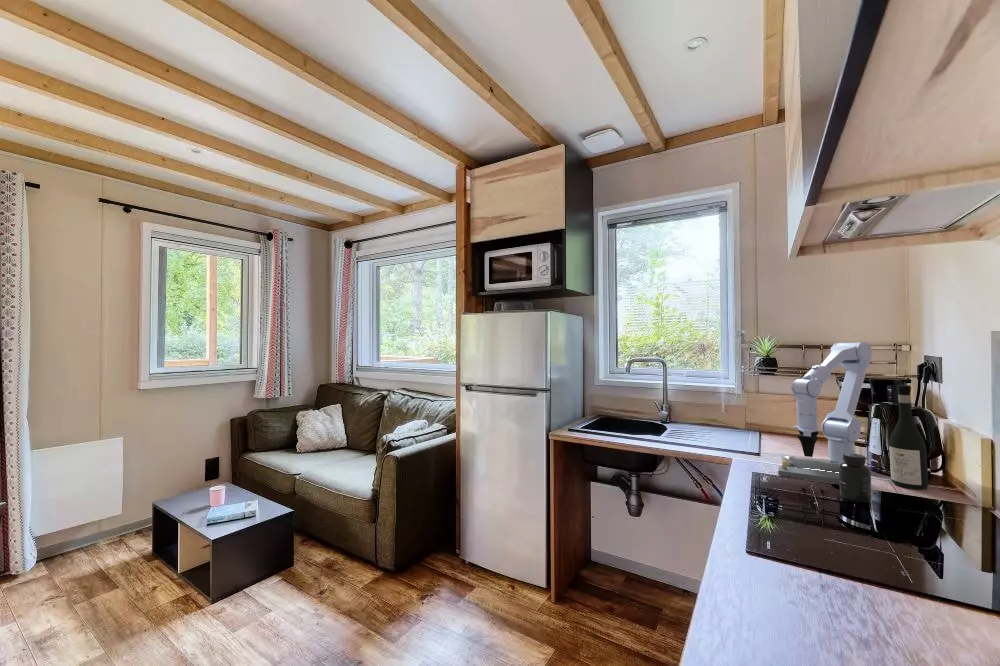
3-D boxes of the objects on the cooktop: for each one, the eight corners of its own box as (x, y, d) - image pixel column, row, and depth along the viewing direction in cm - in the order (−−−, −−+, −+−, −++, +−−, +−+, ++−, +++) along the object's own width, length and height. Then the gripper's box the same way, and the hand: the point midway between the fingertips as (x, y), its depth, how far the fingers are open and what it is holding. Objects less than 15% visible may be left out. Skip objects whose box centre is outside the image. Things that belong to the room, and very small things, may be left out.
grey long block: (783, 464, 151) (782, 454, 151) (838, 471, 142) (838, 460, 142) (782, 468, 147) (781, 457, 148) (839, 475, 138) (838, 464, 138)
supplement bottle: (834, 496, 119) (832, 453, 120) (848, 492, 122) (846, 450, 122) (864, 504, 113) (861, 459, 113) (877, 500, 116) (875, 456, 116)
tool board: (780, 470, 145) (779, 458, 145) (864, 481, 132) (863, 468, 132) (778, 475, 140) (777, 462, 140) (866, 487, 126) (865, 473, 126)
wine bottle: (919, 491, 121) (912, 386, 123) (885, 483, 129) (879, 385, 130) (934, 487, 124) (928, 385, 126) (900, 480, 132) (895, 383, 133)
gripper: (794, 410, 154) (795, 448, 153) (791, 416, 142) (793, 456, 141) (818, 412, 149) (820, 451, 149) (817, 417, 138) (819, 460, 137)
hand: (808, 454), depth 145 cm, fingers open, 7 cm apart
